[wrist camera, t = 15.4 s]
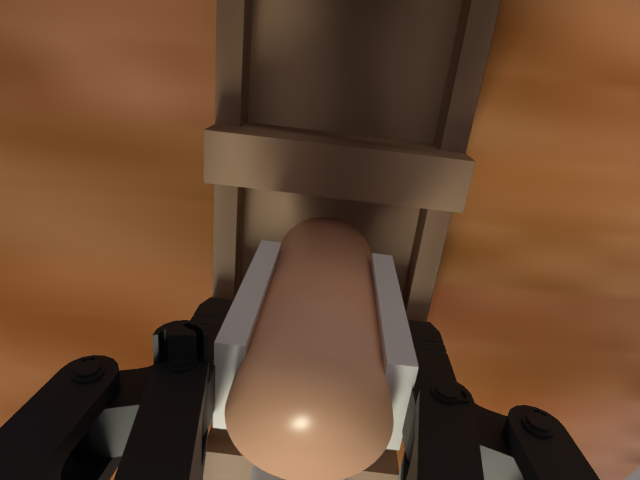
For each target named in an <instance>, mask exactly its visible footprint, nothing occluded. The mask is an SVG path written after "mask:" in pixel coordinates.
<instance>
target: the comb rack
mask: <svg viewBox="0 0 640 480" xmlns="http://www.w3.org/2000/svg"><path fill="white" fill-rule="evenodd" d="M500 2H501V0H217V20H216V91H215V125H213V126H211V127H209V128H207V129H205V130H204V183H210V184H214V233H213V298H222V299H230V300H234V299H235V296H236V294H237V292H238V290H239V288H240V286H241V283H242V281H243V279H244V277H245V275H246V273H247V270H248V268H249V266H250V264H251V262H252V260H253V258H254V255H255V253H256V251H257V249H258V247H259V245H260V242H261V240H266V241H274V242H282V240H283V238H284V237H285V235H286V234H287V233H288V232H289V231H290V230H291V229H292V228H293V227H294V226H296V225H297V224H299V223H301V222H303V221H305V220H308V219H311V218H316V217H331V218H337V219H340V220H343V221H345V222H347V223H349V224H351V225H352V226H354V227H355V228H356V229H357V230H358V231H359V232H360V233H361V234H362V235H363V236H364V238H365V239H366V241H367V243H368V245H369V247H370V251H371V255H372V253H375V254H384V255H392V257H393V261H394V266H395V270H396V274H397V278H398V282H399V287H400V291H401V295H402V299H403V303H404V307H405V312H406V316H407V320H415V321H424V322H426V321H427V316H428V312H429V308H430V303H431V299H432V295H433V291H434V286H435V282H436V278H437V273H438V269H439V265H440V260H441V256H442V252H443V248H444V243H445V239H446V235H447V230H448V226H449V222H450V217H451V213H452V212H457V213H463V212H464V208H465V204H466V199H467V195H468V191H469V187H470V183H471V179H472V175H473V171H474V166H475V162H476V161H474V160H473V159H472V158H471V157H469V156H468V155H467V154H465V153H466V149H467V144H468V140H469V136H470V131H471V127H472V123H473V118H474V114H475V110H476V105H477V101H478V97H479V93H480V88H481V84H482V80H483V75H484V71H485V67H486V62H487V58H488V54H489V50H490V45H491V41H492V37H493V32H494V28H495V24H496V19H497V15H498V11H499V7H500ZM251 468H252V463H251V462H250V461H249V460H247V459H246V458H245V457H244V456H243V455H242V454H241V453H240V452H239V450H238V449H237V448H236V447H235V445H234V443H233V442H232V440H231V438H230V436H229V434H228V431H227V429H219V428H213V415H212V418H211V429H210V432H209V434H208V444H207V451H206V458H205V466H204V473H203V479H204V480H249V477H250V473H251ZM398 476H399V468H398V461H397V453H396V450H391V449H385V451H384V452H383V454H382V455H381V456H380V457H379V458H378V459H377V460H376V461H375V462H374V463H373V464H372V465H371V466H369V467H368V468H366V469H365V470H363V471H361V472H360V473H358V474H356V475H353V476H351V477H349V480H398Z"/></svg>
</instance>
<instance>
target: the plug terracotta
mask: <svg viewBox="0 0 640 480" xmlns="http://www.w3.org/2000/svg"><path fill="white" fill-rule="evenodd" d="M371 257H372V255H371V251H370V247H369V245H368V243H367V241H366V239H365V238H364V236H363V235H362V234H361V233H360V232H359V231H358V230H357V229H356V228H355V227H354V226H352V225H351V224H349V223H347V222H345V221H343V220H340V219H337V218H331V217H316V218H311V219H308V220H305V221H303V222H301V223H299V224H297V225H296V226H294V227H293V228H292V229H291V230H290V231H289V232H288V233H287V234H286V235H285V237H284V238H283V240H282V242H281V252H280V255H279V258H278V261H277V264H276V267H275V270H274V273H273V276H272V279H271V282H270V285H269V288H268V291H267V294H266V297H265V300H264V303H263V306H262V309H261V312H260V315H259V318H258V321H257V324H256V327H255V330H254V333H253V336H252V339H251V342H250V345H249V348H248V350H247V353H246V356H245V359H244V360H243V362H242V363H241V365H240V366H239V368H238V370H237V372H236V374H235V376H234V379H233V382H232V385H231V388H230V391H229V394H228V397H227V400H226V404H225V412H224V413H225V423H226V428H227V431H228V434H229V436H230V438H231V440H232V442H233V443H234V445H235V447H236V448H237V449H238V450H239V452H240V453H241V454H242V455H243V456H244V457H245V458H246V459H247V460H249V461H250V462H251V463H252V464H254V465H255V466H257V467H258V468H260V469H261V470H263V471H265V472H267V473H269V474H271V475H274V476H277V477H279V478H282V479H286V480H342V479H345V478H348V477H351V476H353V475H356V474H358V473H360V472H361V471H363V470H365V469H366V468H368V467H369V466H371V465H372V464H373V463H374V462H375V461H376V460H377V459H378V458H379V457H380V456H381V455H382V454H383V452H384V451H385V449H386V448H387V446H388V444H389V442H390V439H391V436H392V433H393V425H394V419H393V409H392V402H391V394H390V389H389V385H388V382H387V380H386V377H385V373H384V365H383V357H382V349H381V341H380V333H379V325H378V317H377V309H376V301H375V293H374V285H373V277H372V269H371Z"/></svg>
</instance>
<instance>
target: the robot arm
mask: <svg viewBox="0 0 640 480" xmlns="http://www.w3.org/2000/svg"><path fill="white" fill-rule="evenodd" d="M280 252H281V242H274V241H266V240H261V242H260V245H259V247H258V249H257V251H256V253H255V255H254V258H253V260H252V262H251V264H250V266H249V268H248V270H247V273H246V275H245V277H244V279H243V281H242V283H241V286H240V288H239V290H238V292H237V294H236V296H235V299H234V300H230V299H222V298H213V297H210V298H209V299H207V300H206V301H204V302H203V303H201V304H200V305H199V307H198V308H197V310H196V312H195V313H194V316H193V317H192V318H191V320H190V321H188V320H181V321H173V322H170V323H167V324H164V325H162V326H161V327H159V328H158V329H157V330H156V331H155V332H154V334H153V353H154V364H153V365H152V366H149V367H145V368H140V369H131V370H121V371H119V368H118V363H117V362H116V361H115V360H114V359H113V358H110V357H107V356H99V355H92V356H87V357H81V358H79V359H77V360H74V361H72V362H70V363H68V364H67V365H66V366H64V367H63V368H61V369H60V370H59V371H58V372H57V373H56V374H55V375H54V376H53V377H52V378H51V379H50V380H49V381H48V382H47V383H46V384H45V385H44V386H43V387H42V388H41V389H40V390H39V391H38V392H37V393H36V394H35V395H34V396H33V397H32V398H31V399H30V400H29V401H28V402H27V403H25V404H24V405H23V406H22V407H21V408H20V409H19V410H18V411H17V412H16V413H15V414H14V415H13V416H12V417H11V418H10V419H9V420H8V421H7V422H6V423H5V424H4V425H3V426H2V427H1V428H0V480H110V478H111V477H112V475H113V474H114V472H115V470H116V469H117V467H118V469H117V472H116V475H115V478H114V480H203V473H204V466H205V458H206V451H207V444H208V426H209V423H210V421H211V418H212V415H213V428H219V429H227V428H226V423H225V413H224V412H225V404H226V400H227V397H228V394H229V391H230V388H231V385H232V382H233V379H234V376H235V374H236V372H237V370H238V368H239V366H240V365H241V363H242V362H243V360H244V359H245V356H246V353H247V350H248V348H249V345H250V342H251V339H252V336H253V333H254V330H255V327H256V324H257V321H258V318H259V315H260V312H261V309H262V306H263V303H264V300H265V297H266V294H267V291H268V288H269V285H270V282H271V279H272V276H273V273H274V270H275V267H276V264H277V261H278V258H279V255H280ZM371 269H372V277H373V285H374V293H375V301H376V309H377V317H378V325H379V333H380V341H381V349H382V357H383V365H384V373H385V377H386V380H387V382H388V385H389V389H390V394H391V402H392V409H393V419H394V425H393V433H392V436H391V439H390V442H389V444H388V446H387V448H386V449H391V450H399V449H400V445H401V440H402V436H403V441H404V447H405V451H404V456H403V460H402V464H401V468H400V472H399V476H398V480H600V479H599V478H598V476H597V475H596V473H595V472H594V470H593V469H592V467H591V466H590V464H589V463H588V461H587V460H586V458H585V457H584V455H583V454H582V452H581V451H580V449H579V448H578V446H577V445H576V443H575V442H574V441H573V439H572V438H571V436H570V435H569V433H568V432H567V430H566V429H565V427H564V426H563V425H562V424H561V423H560V422H559V421H558V420H557V419H556V418H555V417H553V416H552V415H550V414H549V413H547V412H545V411H543V410H541V409H538V408H536V407H532V406H527V405H521V406H515V407H513V408H512V409H510V411H509V414H508V416H504V415H501V414H499V413H496V412H493V411H490V410H487V409H485V408H483V407H480V406H478V405H477V404H475V403H474V400H473V398H472V395H471V393H470V392H469V391H468V390H467V389H466V388H465V387H464V386H462V385H461V384H459V383H458V382H457V381H456V378H455V375H454V372H453V369H452V366H451V363H450V360H449V358H448V355H447V354H446V349H445V346H444V345H443V340H442V337H441V334H440V332H439V331H438V330H437V329H436V328H435V327H434V326H433V325H432V324H431V323H430V322H424V321H415V320H407V316H406V312H405V307H404V303H403V299H402V295H401V291H400V287H399V282H398V278H397V274H396V270H395V266H394V261H393V257H392V255H384V254H375V253H372V257H371Z"/></svg>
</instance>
